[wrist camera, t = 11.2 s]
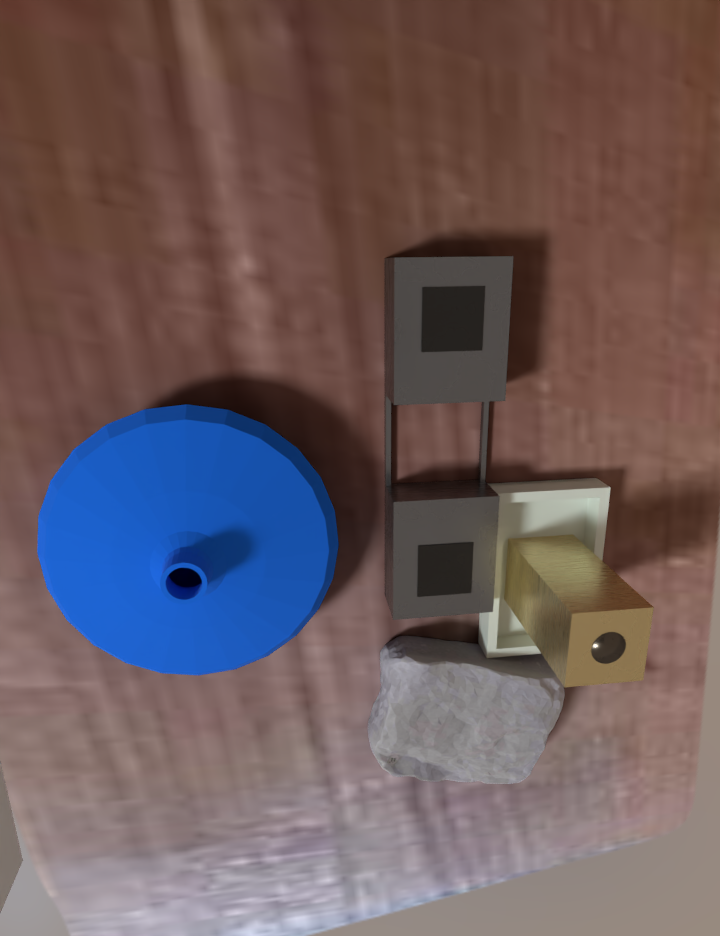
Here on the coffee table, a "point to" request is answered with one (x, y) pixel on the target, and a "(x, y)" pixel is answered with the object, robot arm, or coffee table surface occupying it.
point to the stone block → (461, 711)
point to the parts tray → (537, 515)
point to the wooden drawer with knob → (577, 611)
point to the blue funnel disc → (187, 539)
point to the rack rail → (443, 381)
